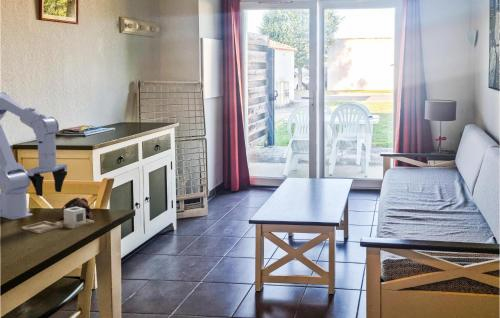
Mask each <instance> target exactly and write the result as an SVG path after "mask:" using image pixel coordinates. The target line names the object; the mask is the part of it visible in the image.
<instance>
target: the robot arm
mask: <svg viewBox="0 0 500 318" xmlns="http://www.w3.org/2000/svg"><path fill="white" fill-rule="evenodd" d="M7 112H10V113H11V114H13V115H15V116H17V117H19V120H20V122H21V123H22V124H24V125H25V126H27V127H29V128H31V129H32V131H33V133H34V134H35V140H36V141H37V155H38V160H37V161H38V166H36V167H33V168H29V169H27V171H26V169H25V166H24V165H22V164H20V163H19V162H17V161H16V159H15V156H14V153H13V151H12V147H11V146H10V144H9V141H8V139H7V136H6V134H5V132H4V129H3V126H2V124H1V122H0V190H1V192H0V217H1V218H6V219H8V220H17V219H22V218H27V217H31V216H34V214H33V213H31V212H30V213H29V212H28V204H27V202H28V201H27V191H29V190H28V188H29V187H30V185H31V184H32V186H33V188H34V191H35V193H36V196H37V197H42V196H43V193H44V191H43V185H44V179H45V176H43V175H42V174H47V173H52V176H53V180H54V190H55V192H57V193H61V192H62V188H63V183H64V181H65V179H66V177H67V175H68V164H67V163H57V141H56V134H58V132H59V130H60V129H59V127H60V124H59V121H58V120H57V119H56V118H55V117H53V116H49V117H48V116H46V115H45V114H44V113H41V112H38V111H37V110H36V108H35V107H24V106H23V105H22V104H20V103H19V102H17V101H16V100H14V99H13V98H12V96H11V95H10V94H8V93H6V92H0V121H2V119H3V118H4V117H5V115H6V113H7Z"/></svg>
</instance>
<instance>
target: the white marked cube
mask: <svg viewBox="0 0 500 318" xmlns="http://www.w3.org/2000/svg"><path fill="white" fill-rule="evenodd" d="M86 213H87V212H86V211H85V209H84V208H80V207H72V208H68V209H64V216H63V220H64V224H67V225H71V226H75V225H78V224H82V223H86V219H87V217H86V216H87V215H86Z"/></svg>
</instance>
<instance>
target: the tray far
mask: <svg viewBox="0 0 500 318" xmlns="http://www.w3.org/2000/svg"><path fill="white" fill-rule="evenodd" d="M54 223H55V224H60V225H62V227H64V228H68V229H73V230H74V229H77V228H80V227H85V226H88V225H91V224H94V223H95V220H91V219H89V218H86V223H82V224H78V225H75V226H71V225H67V224H64V219H63V220H58V221H54Z"/></svg>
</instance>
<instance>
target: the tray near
mask: <svg viewBox="0 0 500 318" xmlns="http://www.w3.org/2000/svg"><path fill="white" fill-rule="evenodd" d="M61 228H63V226H62V225H60V224H55V222H50V221H47V220H44V221H40V222H36V223H32V224H27V225H24V226H21V230H25V231H28V232H32V233H35V234H42V233H47V232H50V231H55V230H58V229H61Z"/></svg>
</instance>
